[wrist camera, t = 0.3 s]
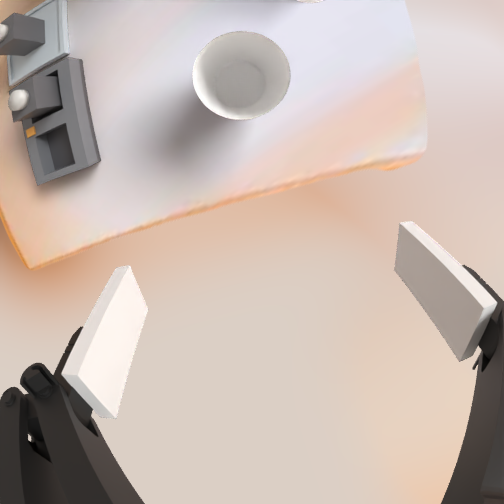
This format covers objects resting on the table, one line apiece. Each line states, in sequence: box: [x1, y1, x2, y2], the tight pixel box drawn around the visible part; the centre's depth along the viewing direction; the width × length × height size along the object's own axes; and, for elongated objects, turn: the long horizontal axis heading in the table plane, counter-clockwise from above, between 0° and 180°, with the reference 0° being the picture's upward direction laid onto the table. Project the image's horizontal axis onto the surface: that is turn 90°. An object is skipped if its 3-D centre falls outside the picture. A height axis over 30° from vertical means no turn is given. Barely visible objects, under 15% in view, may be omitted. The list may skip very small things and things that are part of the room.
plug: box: [0, 13, 45, 56], centre depth 19 cm, size 4×4×10 cm
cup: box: [193, 31, 290, 120], centre depth 27 cm, size 9×9×12 cm
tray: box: [7, 0, 70, 86], centre depth 23 cm, size 12×12×2 cm
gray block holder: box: [8, 57, 101, 186], centre depth 27 cm, size 16×10×10 cm, turn 8°
